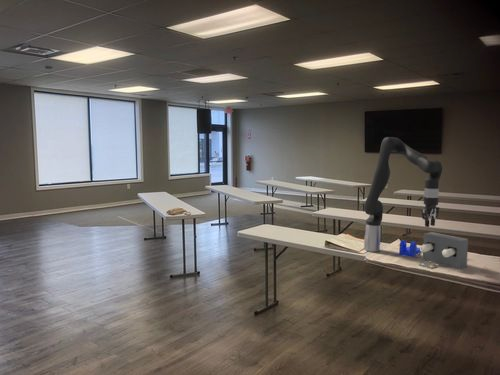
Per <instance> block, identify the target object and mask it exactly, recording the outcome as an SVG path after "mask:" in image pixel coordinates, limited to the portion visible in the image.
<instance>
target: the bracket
mask: <svg viewBox="0 0 500 375" xmlns="http://www.w3.org/2000/svg"><path fill="white" fill-rule="evenodd" d="M420 252H421V247H420V248H419V247H418V245H417V242H416V241H411V242H410V244H409V246H408V245H407V240H404V239H401V240H400V242H399V254H398V255H400V256H403V255H404V257H409V256H410V258H414V257H415V256H417V255H418V254H420ZM416 254H417V255H416Z"/></svg>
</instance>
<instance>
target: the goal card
mask: <svg viewBox="0 0 500 375" xmlns="http://www.w3.org/2000/svg"><path fill="white" fill-rule="evenodd" d="M418 266H419V267H423V268H426V267H427V269H430V270H432V269H435V268H438V265H434V264H429V263H427V262H422V263H420V264H418Z"/></svg>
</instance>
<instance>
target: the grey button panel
mask: <svg viewBox="0 0 500 375" xmlns="http://www.w3.org/2000/svg"><path fill="white" fill-rule="evenodd" d="M429 243H434V244H435V246H434V250H430V251H427V252H423V251H422V260H423V261H425V262H429V261H431V262H430V263H433V262H434V264H437V263H438V265H442V266H445V267H449V268H453V269H457V270H462V269H464V268H467V265H468V250H469V248H468V247H469V239H468V238H464V237H460V236H453V235H448V234H443V233H438V232H432V231H430V232H426V233H423V243H422V245H424V244H429ZM450 248H456V249H457V251H456V255H452V256H449V257H444V256H443V255H442V251H443V250H445V249H450Z"/></svg>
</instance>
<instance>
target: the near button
mask: <svg viewBox="0 0 500 375" xmlns="http://www.w3.org/2000/svg"><path fill="white" fill-rule="evenodd" d="M456 251H457V249H456V248H450V249H445V250H443V251H442V255H443V256H444V257H449V256H452V255H456Z"/></svg>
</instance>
